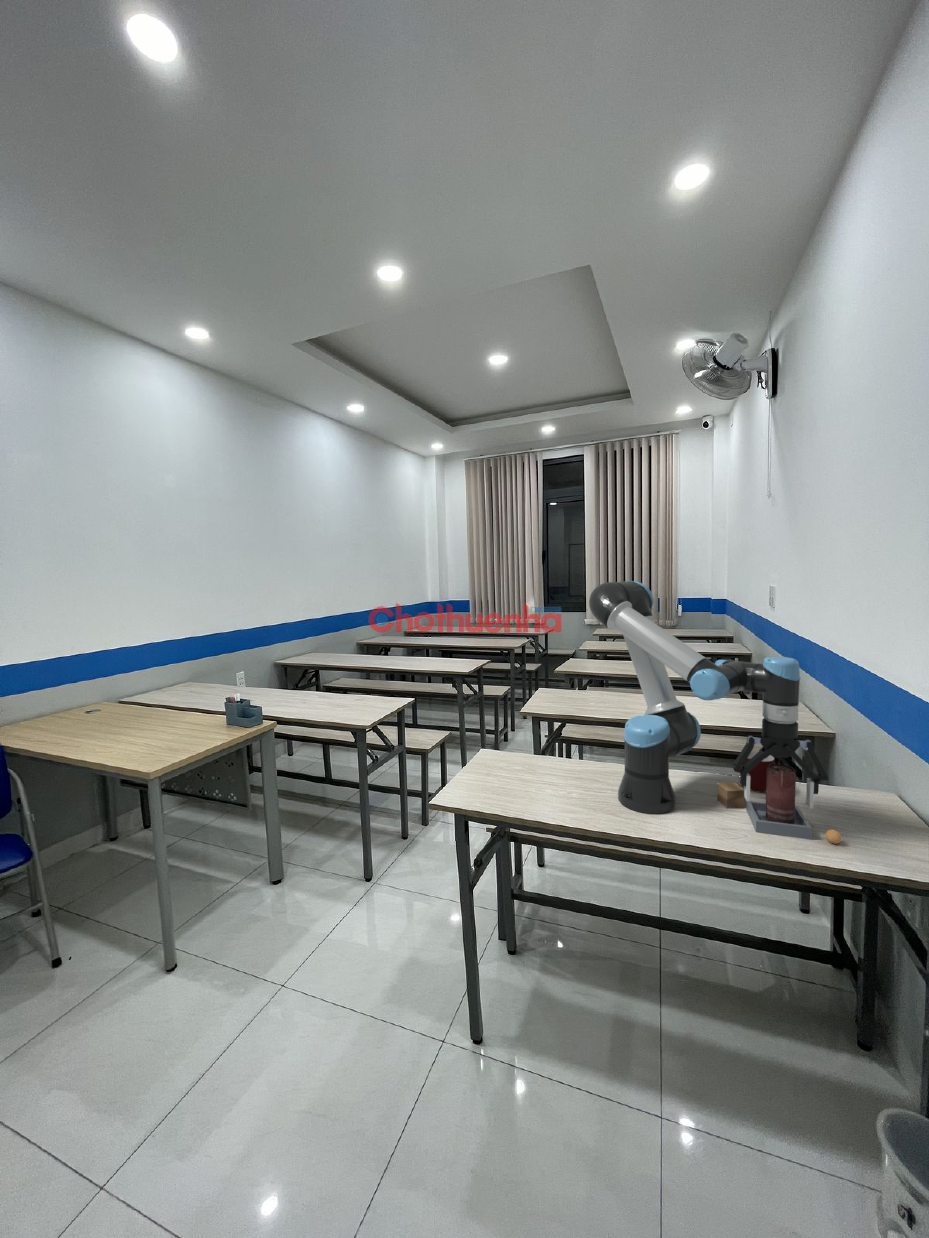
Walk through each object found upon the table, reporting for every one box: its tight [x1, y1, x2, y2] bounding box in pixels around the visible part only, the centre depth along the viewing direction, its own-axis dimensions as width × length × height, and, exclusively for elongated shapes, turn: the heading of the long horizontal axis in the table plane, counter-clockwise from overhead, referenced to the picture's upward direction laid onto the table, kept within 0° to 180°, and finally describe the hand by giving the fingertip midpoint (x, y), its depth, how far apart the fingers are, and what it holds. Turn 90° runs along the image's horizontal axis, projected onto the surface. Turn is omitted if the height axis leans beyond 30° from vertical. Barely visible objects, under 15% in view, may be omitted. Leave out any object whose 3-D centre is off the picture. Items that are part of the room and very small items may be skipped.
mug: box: [742, 751, 776, 793], centre depth 143 cm, size 10×8×10 cm
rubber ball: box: [825, 829, 843, 845], centre depth 114 cm, size 3×3×3 cm
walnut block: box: [716, 782, 746, 809], centre depth 135 cm, size 5×5×5 cm
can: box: [765, 763, 797, 824], centre depth 123 cm, size 6×6×14 cm
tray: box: [746, 800, 813, 840], centre depth 123 cm, size 12×12×3 cm
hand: (777, 802), depth 123 cm, fingers open, 13 cm apart
